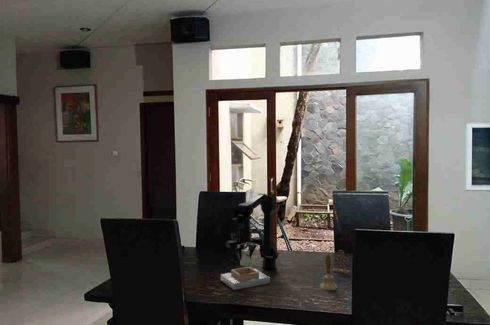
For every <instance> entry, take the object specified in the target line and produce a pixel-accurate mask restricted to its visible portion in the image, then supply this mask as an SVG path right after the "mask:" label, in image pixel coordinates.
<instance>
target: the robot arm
mask: <svg viewBox="0 0 490 325" xmlns="http://www.w3.org/2000/svg"><path fill="white" fill-rule="evenodd" d="M277 204H278V203H277V200H275V198H274V197H271V196H269V195H268V194H267V193H262V192H261V193H257V194H256V195H255V196H254V197H253V198H250V200H248V201H246V202H242V203H239V204H238V205H237V206H236V208H235V211H234V213H233V216H232V218H231V221H230V222H229V223H228V225H227V227H228V231H229V232H230V239H231V240H227V241H226V242H225V247H226V248H228V249H231V250H233V249H234V250H235V252H236V255H237V258H238V259H239V261H240V260H241V252H242V250H243V248H242V247H241V246H245V245H247V247H248V250H249V251H250V259H251V258H252V256H253V254H254V252H255V250H256V248H258V246H259V250H258V251H259V254H260V258H262V267H261V268H262V269H263V270H265V271H272V270H277V269H278V267H277V266H276V262H277V261H276V260H277V259H278V258H279V252H278V251H277V250H276V244H275V242H274V241H273V222H274V221H273V219H274V218H273V217H274V216H273V215H274V213H275V212H276V208H277ZM259 205H260V209H261V211H262V213H263V235H262V236H263V238H260V237H258V236H257V237H252V238H251V234H252V231H251V220H252V217H251V215H253V213H254V209H256V208H257V207H259Z"/></svg>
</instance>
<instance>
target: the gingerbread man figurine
mask: <svg viewBox="0 0 490 325" xmlns="http://www.w3.org/2000/svg"><path fill="white" fill-rule="evenodd" d="M333 257H334V258H335V260H337V264H336V265H335V267H334V268H332V270H331V272H332V273H338V274H345V275H348V274H350V273H351V270H349V269H348V268H347V266H346V265H345V264H349V259H348V257H347V256H345V251H344V250H343V249H339V250H338V251H337V252H334V253H333ZM337 257H338V258H337ZM343 258H345V259H346V260H345V259H343ZM339 264H340V265H339ZM338 265H339V267H338ZM343 266H344V267H343ZM349 272H350V273H349Z"/></svg>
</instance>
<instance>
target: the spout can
mask: <svg viewBox="0 0 490 325" xmlns="http://www.w3.org/2000/svg"><path fill="white" fill-rule="evenodd" d="M239 265H240V266H242V267H250V265H251V258H250V251H249V249H242V252H241V260H239Z"/></svg>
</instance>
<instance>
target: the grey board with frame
mask: <svg viewBox="0 0 490 325" xmlns="http://www.w3.org/2000/svg"><path fill="white" fill-rule="evenodd" d="M220 281H221V282H223V283H224V284H225V285H226V286H228V287H229V288H231V289H232V290H233V291H234V290H240V289H247V288H250V287H251V288H252V287H256V286H262V285H267V284H270V283H271V277H270V276H268V275H267V274H265V273H263V272H262V271H260V270H258V269H257V268H253V267H251V266H244V267H239V268H233V269H231V270H230V272H227V273H226V272H225V273H221V274H220Z"/></svg>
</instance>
